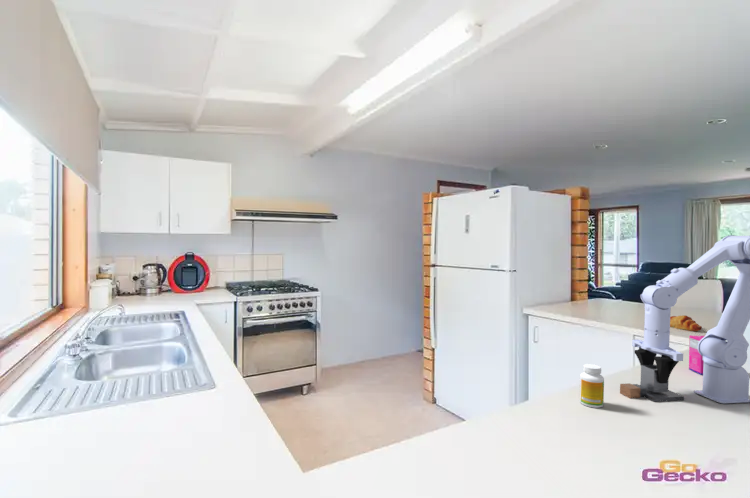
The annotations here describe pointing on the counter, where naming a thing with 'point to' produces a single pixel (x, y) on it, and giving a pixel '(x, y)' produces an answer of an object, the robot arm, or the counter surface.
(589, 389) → the supplement bottle
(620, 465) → the counter surface
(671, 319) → the croissant
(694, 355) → the supplement box
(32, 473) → the counter surface
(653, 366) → the hollow square tube
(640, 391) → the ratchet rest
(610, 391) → the counter surface
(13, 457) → the counter surface
